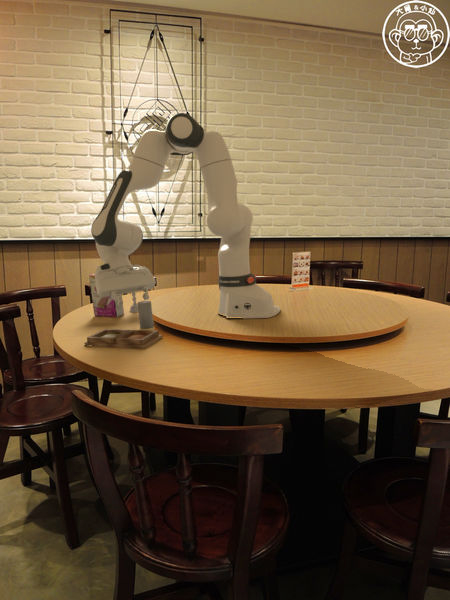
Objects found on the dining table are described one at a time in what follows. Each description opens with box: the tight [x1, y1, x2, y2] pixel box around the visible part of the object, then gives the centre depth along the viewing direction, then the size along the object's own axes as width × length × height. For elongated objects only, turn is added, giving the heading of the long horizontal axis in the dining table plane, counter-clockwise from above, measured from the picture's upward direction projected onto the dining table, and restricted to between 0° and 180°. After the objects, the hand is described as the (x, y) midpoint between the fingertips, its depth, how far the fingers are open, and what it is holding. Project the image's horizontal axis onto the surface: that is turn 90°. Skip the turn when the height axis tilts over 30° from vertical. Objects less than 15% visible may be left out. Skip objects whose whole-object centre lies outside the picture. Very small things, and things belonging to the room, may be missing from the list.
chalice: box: [128, 264, 140, 313], centre depth 182 cm, size 7×7×18 cm
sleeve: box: [136, 300, 156, 331], centre depth 151 cm, size 5×5×10 cm
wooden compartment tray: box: [84, 328, 163, 350], centre depth 142 cm, size 21×11×2 cm, turn 69°
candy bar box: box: [88, 273, 125, 318], centre depth 177 cm, size 11×5×16 cm, turn 65°
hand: (134, 301), depth 154 cm, fingers open, 8 cm apart
